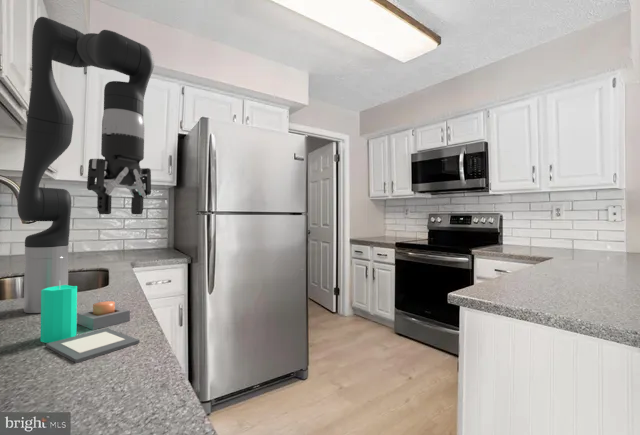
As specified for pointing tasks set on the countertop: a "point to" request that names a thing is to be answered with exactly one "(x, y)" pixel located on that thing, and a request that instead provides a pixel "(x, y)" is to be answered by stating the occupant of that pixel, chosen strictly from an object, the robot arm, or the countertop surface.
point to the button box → (103, 318)
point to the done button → (103, 308)
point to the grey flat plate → (91, 344)
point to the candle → (58, 313)
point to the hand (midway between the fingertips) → (121, 214)
